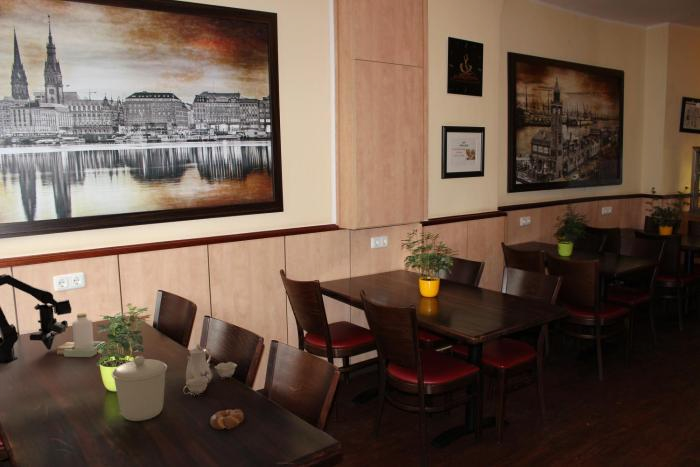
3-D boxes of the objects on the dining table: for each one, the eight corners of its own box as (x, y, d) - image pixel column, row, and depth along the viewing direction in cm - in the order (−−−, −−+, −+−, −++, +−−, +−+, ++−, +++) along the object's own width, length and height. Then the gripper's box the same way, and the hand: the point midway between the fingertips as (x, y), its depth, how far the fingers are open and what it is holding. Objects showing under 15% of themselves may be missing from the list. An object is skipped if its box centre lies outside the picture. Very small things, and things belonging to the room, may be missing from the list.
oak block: (71, 355, 263) (71, 347, 263) (57, 354, 264) (56, 347, 264) (81, 349, 271) (80, 342, 271) (67, 349, 272) (67, 342, 271)
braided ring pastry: (231, 412, 200) (231, 402, 199) (252, 421, 193) (251, 411, 192) (203, 424, 190) (202, 414, 190) (223, 434, 183) (222, 423, 183)
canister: (115, 408, 204) (111, 352, 201) (168, 400, 210) (165, 345, 207) (113, 430, 187) (109, 369, 184) (171, 421, 193) (167, 361, 190)
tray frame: (91, 357, 259) (90, 350, 259) (64, 356, 260) (63, 350, 260) (106, 347, 272) (105, 341, 272) (80, 347, 273) (79, 341, 273)
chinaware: (201, 405, 209) (203, 362, 207) (164, 395, 215) (165, 353, 212) (241, 377, 235) (243, 339, 233) (207, 369, 241) (208, 332, 238)
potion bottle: (74, 350, 268) (71, 313, 266) (94, 348, 272) (91, 311, 270) (74, 355, 261) (71, 317, 259) (94, 353, 264) (91, 315, 262)
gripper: (50, 323, 256) (53, 356, 258) (74, 312, 274) (76, 343, 276) (27, 322, 257) (30, 355, 259) (53, 311, 275) (55, 343, 277)
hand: (49, 349), depth 268 cm, fingers closed
